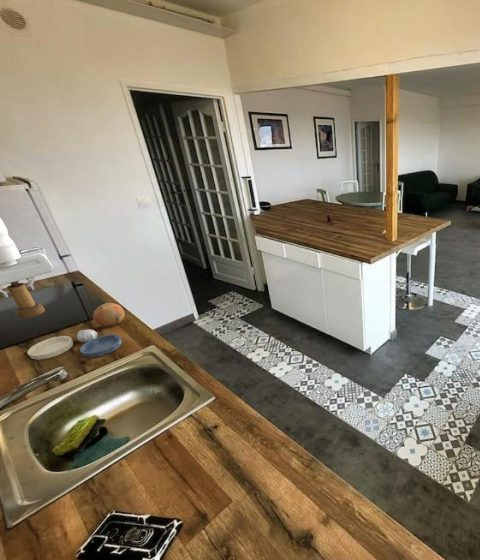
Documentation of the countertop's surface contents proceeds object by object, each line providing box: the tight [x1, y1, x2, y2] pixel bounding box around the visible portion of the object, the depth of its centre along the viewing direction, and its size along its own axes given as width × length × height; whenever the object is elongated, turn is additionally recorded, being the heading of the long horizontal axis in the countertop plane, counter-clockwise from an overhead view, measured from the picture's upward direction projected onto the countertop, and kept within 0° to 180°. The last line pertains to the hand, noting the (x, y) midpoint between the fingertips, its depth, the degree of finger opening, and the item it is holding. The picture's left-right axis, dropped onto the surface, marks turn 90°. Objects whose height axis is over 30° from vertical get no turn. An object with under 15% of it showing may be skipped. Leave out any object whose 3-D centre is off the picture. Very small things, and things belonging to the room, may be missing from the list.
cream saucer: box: [26, 335, 74, 361], centre depth 115 cm, size 12×12×2 cm
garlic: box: [76, 328, 99, 344], centre depth 120 cm, size 6×5×5 cm
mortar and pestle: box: [6, 281, 46, 320], centre depth 104 cm, size 7×6×18 cm
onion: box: [92, 302, 125, 328], centre depth 129 cm, size 10×10×10 cm
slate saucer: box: [79, 333, 123, 359], centre depth 117 cm, size 12×12×2 cm
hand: (20, 293), depth 104 cm, fingers closed on mortar and pestle, 4 cm apart
